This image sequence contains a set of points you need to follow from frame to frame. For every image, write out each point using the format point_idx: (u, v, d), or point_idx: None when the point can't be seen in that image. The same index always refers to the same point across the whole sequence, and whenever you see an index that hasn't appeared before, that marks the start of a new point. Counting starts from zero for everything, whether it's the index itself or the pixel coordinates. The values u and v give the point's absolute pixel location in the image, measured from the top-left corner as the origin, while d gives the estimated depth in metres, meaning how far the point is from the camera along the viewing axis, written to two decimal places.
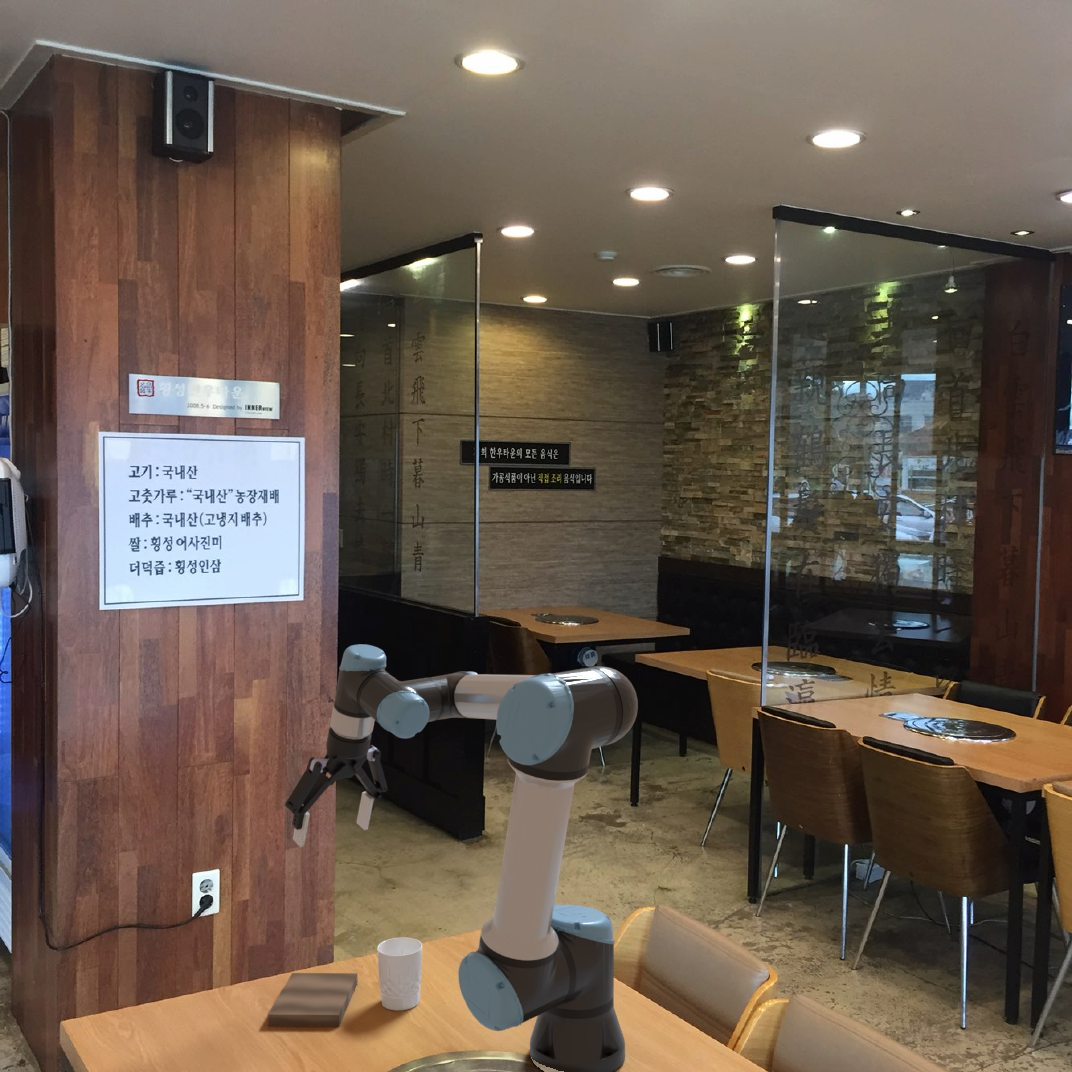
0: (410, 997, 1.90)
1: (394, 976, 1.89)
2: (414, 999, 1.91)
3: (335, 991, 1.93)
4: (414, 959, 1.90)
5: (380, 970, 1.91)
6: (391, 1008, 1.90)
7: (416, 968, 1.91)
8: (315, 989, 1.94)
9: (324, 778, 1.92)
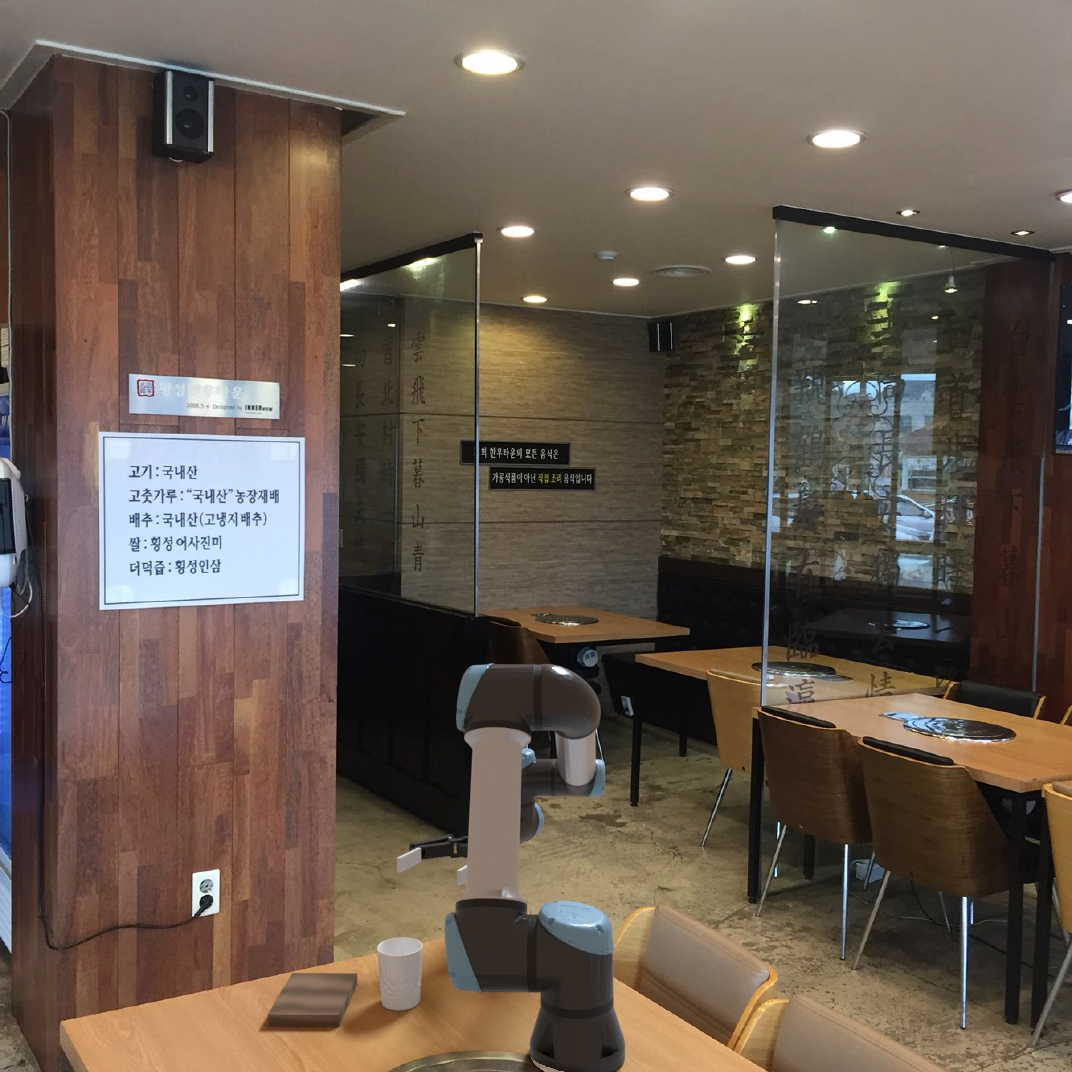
0: (410, 997, 1.90)
1: (394, 976, 1.89)
2: (414, 999, 1.91)
3: (335, 991, 1.93)
4: (414, 959, 1.90)
5: (380, 970, 1.91)
6: (391, 1008, 1.90)
7: (416, 968, 1.91)
8: (315, 989, 1.94)
9: None
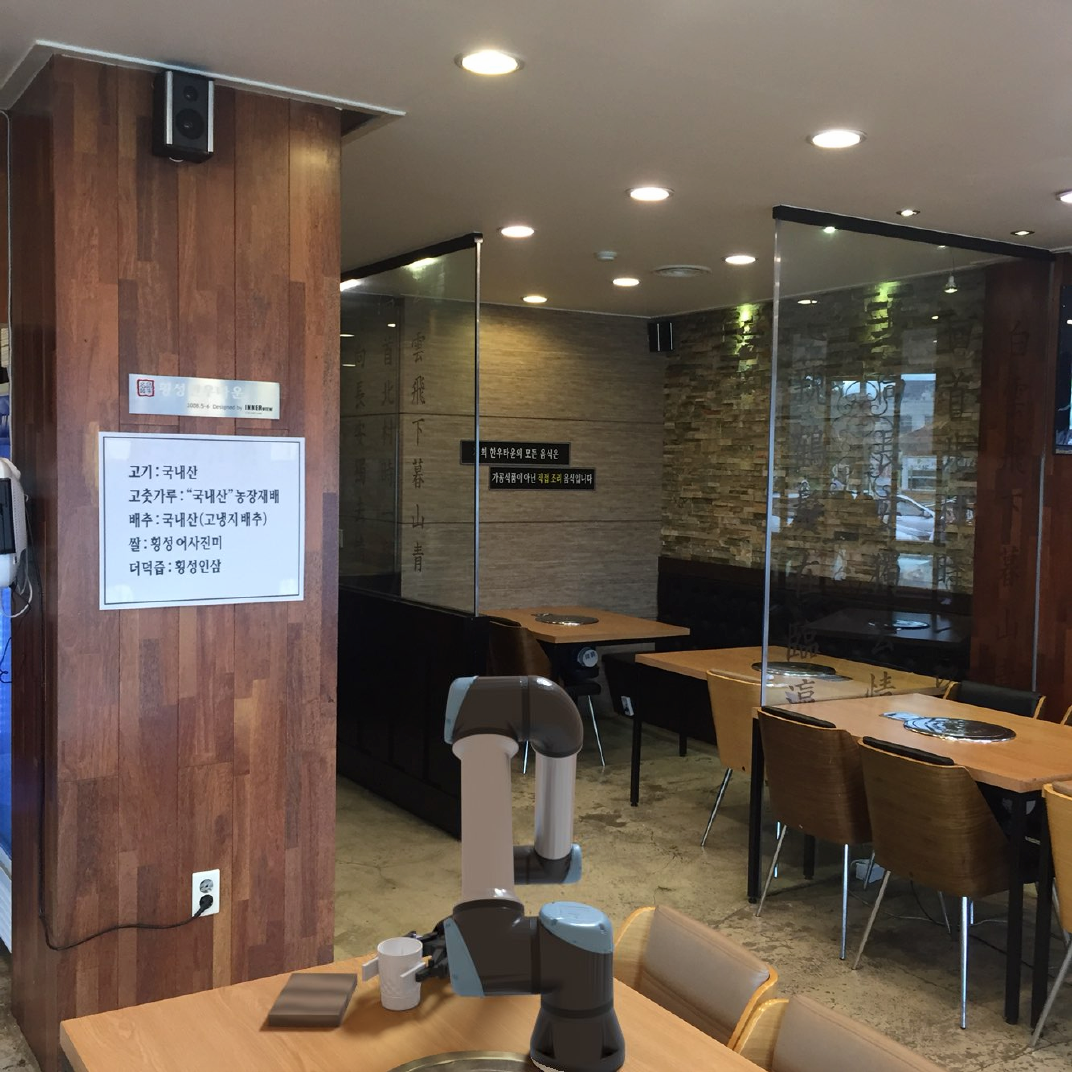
0: (410, 997, 1.90)
1: (394, 976, 1.89)
2: (414, 999, 1.91)
3: (335, 991, 1.93)
4: (414, 959, 1.90)
5: (380, 970, 1.91)
6: (391, 1008, 1.90)
7: None
8: (315, 989, 1.94)
9: None
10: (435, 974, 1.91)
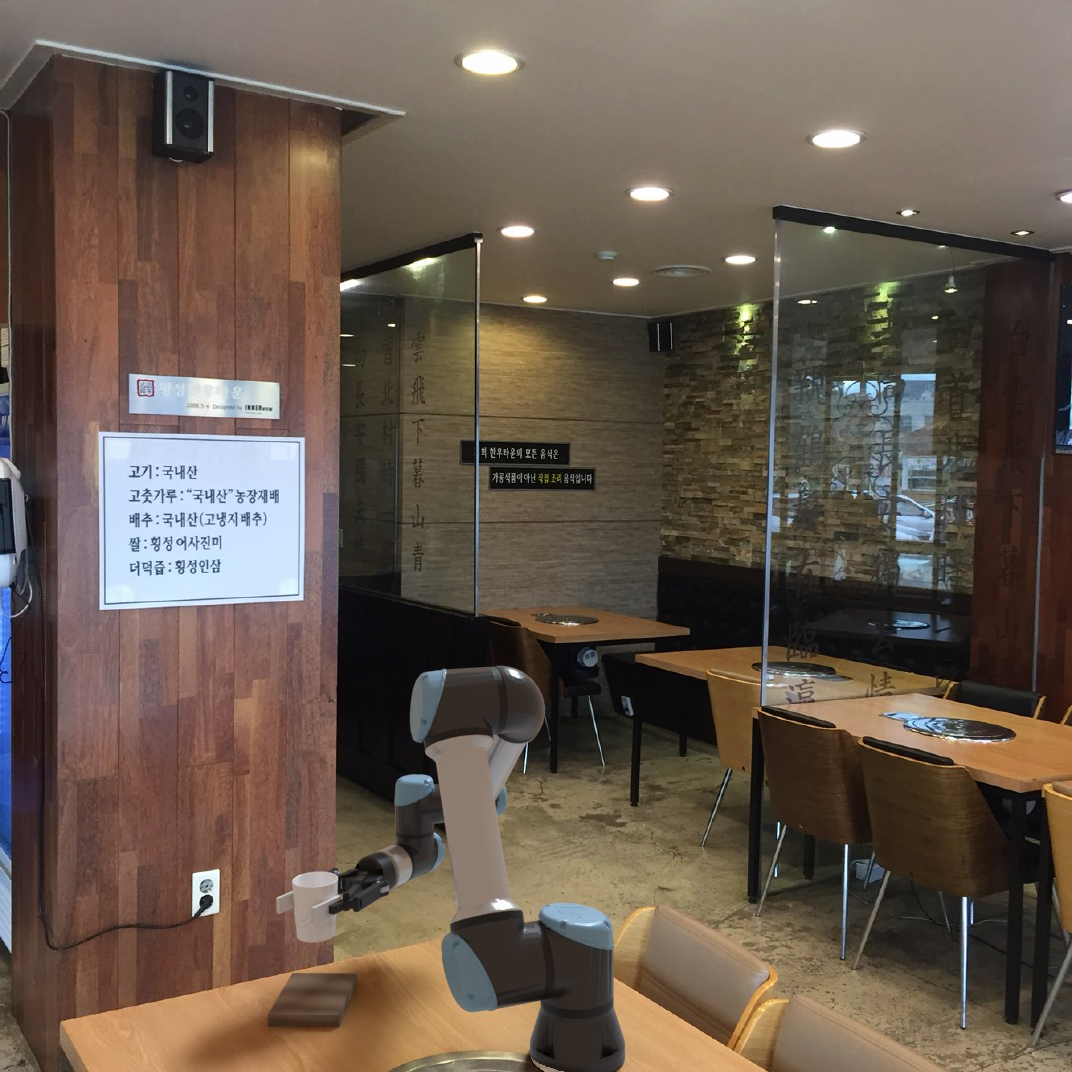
0: (324, 929, 1.90)
1: (307, 908, 1.89)
2: (328, 932, 1.90)
3: (335, 991, 1.93)
4: (328, 891, 1.90)
5: (294, 902, 1.90)
6: (305, 940, 1.89)
7: None
8: (315, 989, 1.94)
9: None
10: (349, 907, 1.91)
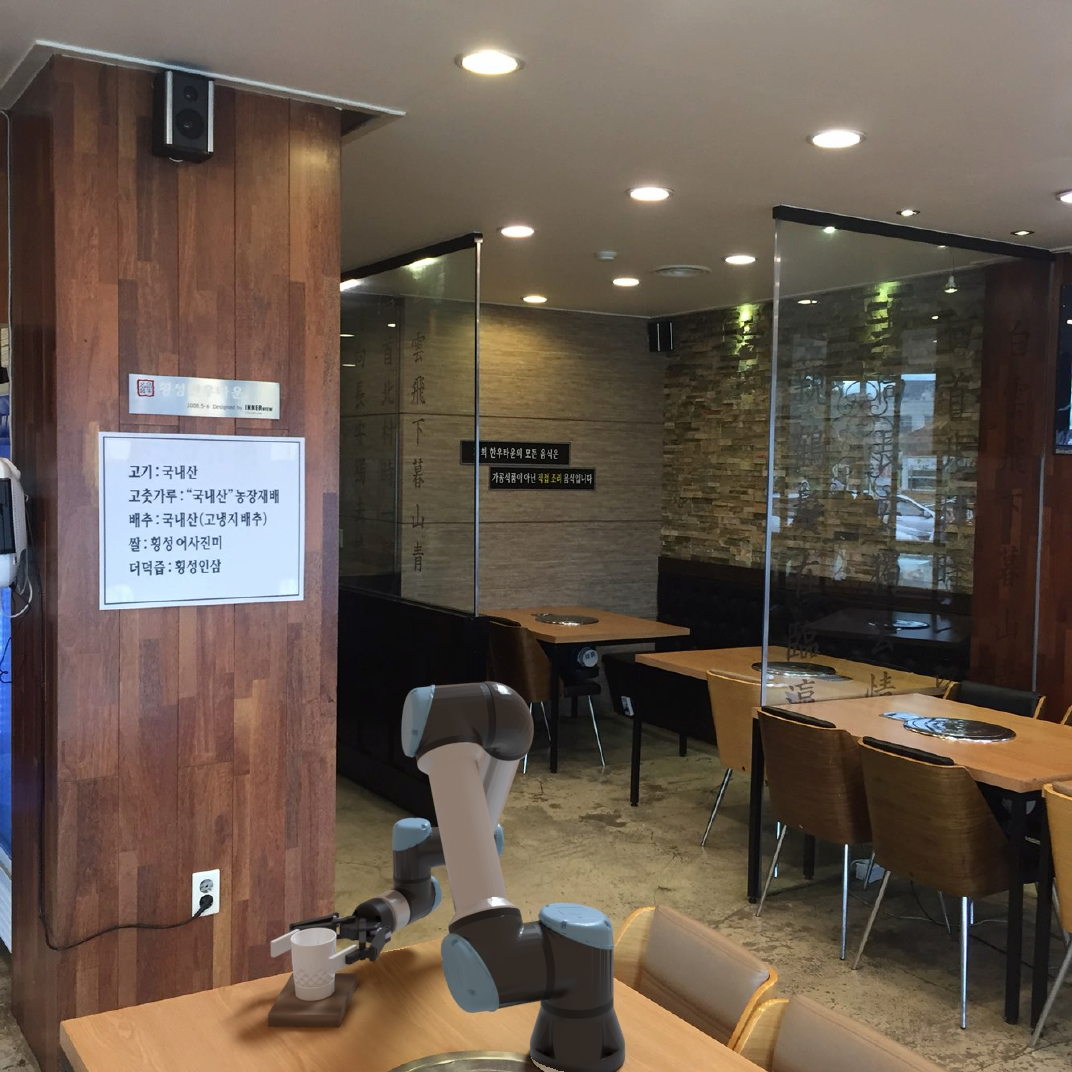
0: (323, 987, 1.90)
1: (306, 966, 1.89)
2: (327, 989, 1.90)
3: (335, 991, 1.93)
4: (327, 949, 1.90)
5: (293, 960, 1.90)
6: (304, 998, 1.89)
7: None
8: None
9: None
10: None
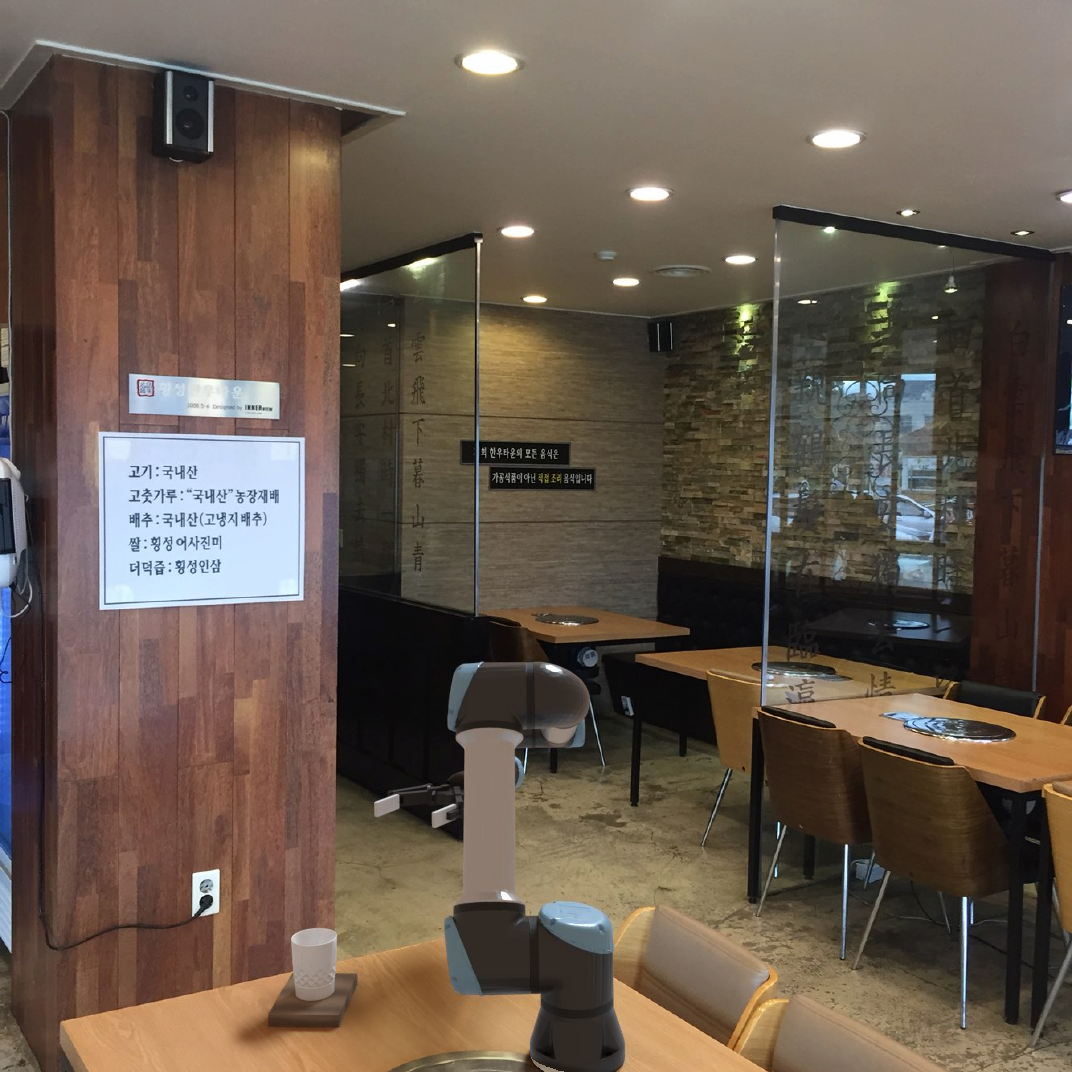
0: (323, 987, 1.90)
1: (307, 966, 1.88)
2: (327, 990, 1.90)
3: (335, 991, 1.93)
4: (327, 950, 1.90)
5: (293, 960, 1.90)
6: (304, 998, 1.89)
7: (330, 958, 1.90)
8: None
9: None
10: None
